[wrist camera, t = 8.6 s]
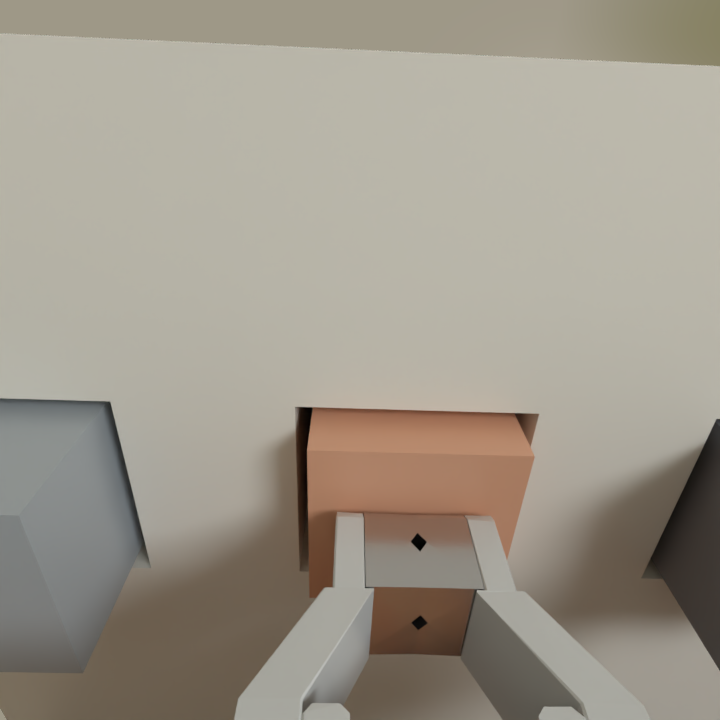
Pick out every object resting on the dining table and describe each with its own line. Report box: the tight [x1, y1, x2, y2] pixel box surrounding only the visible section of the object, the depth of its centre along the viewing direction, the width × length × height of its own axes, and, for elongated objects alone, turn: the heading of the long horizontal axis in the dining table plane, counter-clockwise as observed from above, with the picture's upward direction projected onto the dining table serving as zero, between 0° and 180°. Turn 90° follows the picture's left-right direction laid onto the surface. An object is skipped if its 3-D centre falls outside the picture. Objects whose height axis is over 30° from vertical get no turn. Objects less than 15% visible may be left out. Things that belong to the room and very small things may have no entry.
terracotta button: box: [307, 407, 535, 598], centre depth 11 cm, size 4×4×4 cm
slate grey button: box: [0, 398, 144, 673], centre depth 10 cm, size 4×4×4 cm
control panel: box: [0, 33, 720, 720], centre depth 14 cm, size 5×22×22 cm, turn 90°
